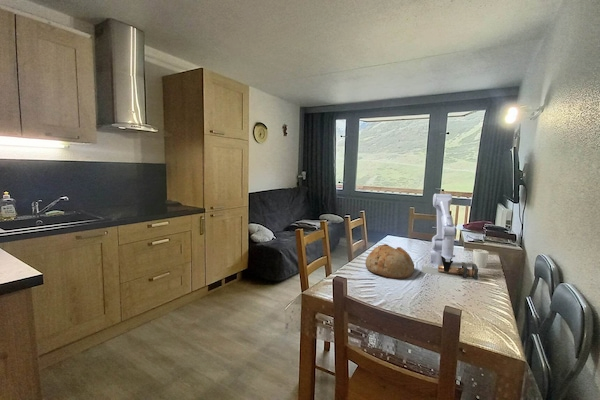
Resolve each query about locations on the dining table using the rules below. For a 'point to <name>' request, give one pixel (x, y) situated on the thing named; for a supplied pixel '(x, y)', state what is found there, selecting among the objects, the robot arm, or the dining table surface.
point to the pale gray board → (435, 271)
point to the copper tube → (456, 270)
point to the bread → (390, 262)
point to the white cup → (480, 258)
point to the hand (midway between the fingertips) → (446, 270)
